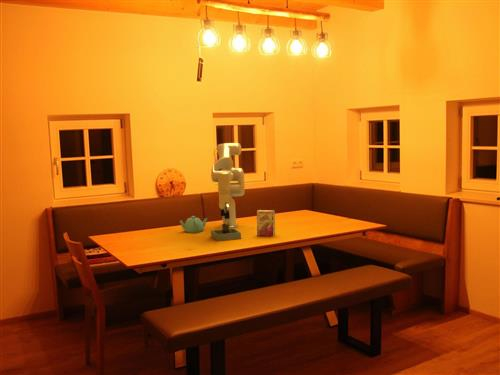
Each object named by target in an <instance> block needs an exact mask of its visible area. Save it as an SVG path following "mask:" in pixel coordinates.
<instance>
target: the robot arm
mask: <svg viewBox="0 0 500 375" xmlns="http://www.w3.org/2000/svg"><path fill="white" fill-rule="evenodd" d="M216 152H217V154H218V155H217V156H218V160H216V161H215V162H214V163H213V165H212V166H211V172H210V173H211V176H210V178H211V181H212V182H213V183H217V192H218V199H219V200H218V208H220V216H221V217H222V224H224V223H225V222H227V223H228V224H229V229H233V228H238V227H239V224H238V223H237V221H236V220H237V219H236V218H237V217H236V215H237V214H236V202H235V199H233V198H232V197H243V196H244V195H245V191H246V190H245V172H244V169H243V168H242V167H234V161H233V159H232V156H240V155H241V153H242V145H241V143H239V142H225V143H219V144H217V146H216ZM222 224H221V225H220V228H222Z"/></svg>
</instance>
